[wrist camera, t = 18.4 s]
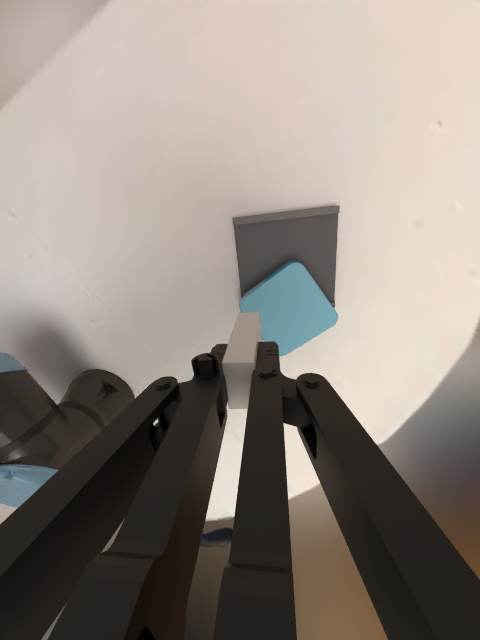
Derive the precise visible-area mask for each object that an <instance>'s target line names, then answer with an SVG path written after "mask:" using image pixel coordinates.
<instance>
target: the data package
mask: <svg viewBox="0 0 480 640" xmlns="http://www.w3.org/2000/svg"><path fill="white" fill-rule="evenodd" d="M239 307H240V310H241V312H258V311H260V323H261V335H262V339H263V340H264V341H265V342H270V341H275V342H276V343H277V344H278V347H279V356H283V355H286V354H288V353H289V352H291V351H293V350H294V349H296V348H298V347H299V346H301V345H302V344H304V343H306V342H307V341H309V340H311V339H312V338H314V337H316V336H317V335H319V334H321V333H322V332H324V331H325V330H327V329H329V328H330V327H332V326H334V325H335V323H336V322H337V319H338V315H337V313H336V311H335V310H334V308H333V307H332V305H331V304H330V302H329V301H328V300H327V298H326V297H325V295H324V294H323V292H322V291H321V289H320V288H319V287H318V285H317V284H316V282H315V281H314V279H313V278H312V276H311V275H310V274H309V272H308V271H307V269H306V268H305V266H304V265H303V264H301V263H300V262H299V261H296V260H291V261H288V262H287V263H286V264H284V265H283V266H281V267H280V268H279V269H277V270H276V271H275V272H273V273H272V274H271V275H269V276H268V277H267V278H265V279H264V280H263V281H261V282H260V283H259V284H257V285H256V286H255V287H253V288H252V289H250V290H249V291H248V292H246V293H245V294H244V296H243V298H242V300H241V302H240V305H239Z"/></svg>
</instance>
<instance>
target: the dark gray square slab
mask: <svg viewBox="0 0 480 640" xmlns="http://www.w3.org/2000/svg"><path fill="white" fill-rule="evenodd" d="M338 213H339V206H331V207H323V208H314V209H306V210H297V211H289V212H280V213H272V214H263V215H255V216H246V217H238V218H233V225H234V230H235V240H236V249H237V258H238V268H239V277H240V286H241V296H242V298H243V296H244V294H245V293H246V292H248V291H249V290H250V289H252V288H253V287H255V286H256V285H257V284H259V283H260V282H261V281H263V280H264V279H265V278H267V277H268V276H269V275H271V274H272V273H273V272H275V271H276V270H277V269H279V268H280V267H281V266H283V265H284V264H286V263H287V262H288V261H291V260H296V261H299V262H300V263H301V264H303V265H304V266H305V268H306V269H307V271H308V272H309V274H310V275H311V276H312V278H313V279H314V281H315V282H316V284H317V285H318V287H319V288H320V289H321V291H322V292H323V294H324V295H325V297H326V298H327V300H328V301H329V302H330V304H331V305H332V307H333V308H335V302H334V293H335V271H336V249H337V227H338Z"/></svg>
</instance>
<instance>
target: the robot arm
mask: <svg viewBox="0 0 480 640" xmlns="http://www.w3.org/2000/svg"><path fill="white" fill-rule="evenodd" d="M191 362H192V367H193V371H194V377H193V379H192V380H190V381H187V382H182V383H178V381H177V379H176V378H174V377H162V378H160V379H157V380H156V381H154V382H153V383H152V384H150V385H149V386H148V387H147V388H146V389H145V390H144V391H143V392H142V393H141V394H140V395H139V396H138V397H137V398H135V399H134V395H133V393H132V391H131V389H130V388H129V387H128V385H127V384H126V383H125V382H124V381H123V380H121V379H120V378H119V377H117V376H116V375H114V374H112V373H109V372H106V371H102V370H89V371H86V372H83V373H82V374H81V375H79V376H78V377H77V378H76V379H74V380H73V382H72V383H71V384H70V386H69V388H68V390H67V392H66V393H65V395H64V397H63V398H62V400H61V401H60V403H59V404H58V405H56V403H55V402H54V401H53V400H52V399H51V398H50V396H49V395H48V394H47V393H46V392H45V391H44V390H43V388H42V387H41V386H40V385H39V384H38V383H37V382H36V381H35V379H34V378H33V377H32V376H31V375H30V374H29V373H28V371H27V368H25V367H23V366H22V365H21V364H20V363H19V362H18V361H17V360H16V359H15V358H14V357H13V356H11V355H9V354H6V353H0V503H2V504H5V505H8V506H12V507H17V508H18V509H16V510H15V511H14V512H13V513H12V514H11V515H10V516H9V517H8V518H7V519H6V520H5V521H4V522H2V523H1V524H0V640H41V639H42V637H43V636H44V635H45V633H46V632H47V630H48V629H49V627H50V626H51V624H52V623H53V622H54V620H55V619H56V617H57V616H58V614H59V613H60V611H61V610H62V608H63V607H64V606H65V604H66V603H67V604H66V606H65V608H64V609H63V611H62V613H61V615H60V617H59V619H58V621H57V623H56V625H55V627H54V628H53V630H52V632H51V634H50V636H49V638H48V640H185V634H186V610H187V603H188V598H189V593H190V589H191V584H192V579H193V575H194V570H195V565H196V561H197V556H198V551H199V547H200V542H201V537H202V533H203V528H204V523H205V519H206V514H207V509H208V505H209V500H210V495H211V490H212V486H213V481H214V476H215V472H216V467H217V462H218V458H219V453H220V448H221V444H222V439H223V434H224V430H225V425H226V420H227V409H226V406H227V402H228V405H229V409H248V411H247V419H246V428H245V436H244V444H243V452H242V460H241V469H240V477H239V485H238V493H237V501H236V510H235V518H234V526H233V534H232V542H231V550H230V557H229V561H228V563H227V565H226V566H225V568H224V572H223V576H222V581H221V588H220V594H219V601H218V608H217V615H216V623H215V630H214V637H213V640H297V637H296V618H295V602H294V588H293V572H292V557H291V542H290V525H289V508H288V492H287V475H286V459H285V442H284V426H283V423H286V424H289V425H293V426H296V427H297V429H298V432H299V435H300V437H301V439H302V442H303V444H304V446H305V448H306V451H307V453H308V455H309V458H310V460H311V462H312V465H313V467H314V469H315V472H316V474H317V476H318V478H319V481H320V483H321V485H322V488H323V490H324V492H325V495H326V497H327V499H328V502H329V504H330V506H331V508H332V511H333V513H334V515H335V518H336V520H337V522H338V524H339V527H340V529H341V531H342V534H343V536H344V538H345V541H346V543H347V545H348V548H349V550H350V552H351V555H352V557H353V559H354V562H355V564H356V566H357V568H358V571H359V573H360V575H361V578H362V580H363V582H364V585H365V587H366V589H367V592H368V594H369V596H370V599H371V601H372V603H373V605H374V608H375V610H376V612H377V615H378V617H379V619H380V622H381V624H382V626H383V628H384V631H385V633H386V635H387V638H388V640H480V580H479V578H478V577H477V576H476V574H475V573H474V572H473V571H472V569H471V568H470V567H469V565H468V564H467V563H466V561H465V560H464V559H463V557H462V556H461V555H460V554H459V552H458V551H457V550H456V548H455V547H454V546H453V544H452V543H451V542H450V540H449V539H448V538H447V536H446V535H445V534H444V533H443V531H442V530H441V529H440V527H439V526H438V525H437V523H436V522H435V521H434V520H433V518H432V517H431V516H430V514H429V513H428V512H427V510H426V509H425V508H424V506H423V505H422V504H421V503H420V501H419V500H418V499H417V497H416V496H415V495H414V493H413V492H412V491H411V489H410V488H409V487H408V485H407V484H406V483H405V482H404V480H403V479H402V478H401V476H400V475H399V474H398V473H397V471H396V470H395V469H394V467H393V466H392V465H391V463H390V462H389V461H388V459H387V458H386V457H385V455H384V454H383V453H382V451H381V450H380V449H379V448H378V446H377V445H376V444H375V442H374V441H373V440H372V438H371V437H370V436H369V434H368V433H367V432H366V431H365V429H364V428H363V427H362V425H361V424H360V423H359V421H358V420H357V419H356V417H355V416H354V415H353V413H352V412H351V411H350V410H349V408H348V407H347V406H346V404H345V403H344V402H343V400H342V399H341V398H340V396H339V395H338V394H337V393H336V391H335V390H334V389H333V387H332V386H331V385H330V383H329V382H328V381H327V380H326V379H325V378H324V377H323V376H321V375H319V374H314V373H305V374H302V375H300V376H299V377H297V380H295V379H291V378H288V377H286V376H284V375H283V374H282V373H281V371H280V363H279V347H278V344H277V343H276V342H275V341H270V342H262V335H261V323H260V311H258V312H240V313H238V316H237V319H236V322H235V325H234V328H233V331H232V334H231V337H230V340H229V343H228V344H217V345H216V346H215V347H213V348H212V350H211V353H205V354H200V355H198V356H196V357H194V358H193V359H192V360H191ZM157 418H158V421H159V422H158V423H157V424H156V425H155V426H154V425H153V423H154V422H155V420H156V419H157ZM124 519H125V520H124ZM123 520H124V522H123V524H122V526H121V528H120V530H119V532H118V534H117V536H116V538H115V540H114V542H113V544H112V545H111V547H110V548H109V549H108V550H107V551H105V552H102V550H103V549H104V548H105V546H106V545H107V543H108V542H109V540H110V539H111V537H112V536H113V534H114V533H115V532H116V530H117V529H118V527H119V526H120V524H121V523H122V521H123ZM101 552H102V553H101ZM67 601H68V602H67Z"/></svg>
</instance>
